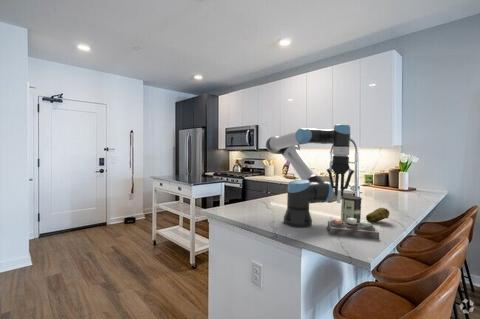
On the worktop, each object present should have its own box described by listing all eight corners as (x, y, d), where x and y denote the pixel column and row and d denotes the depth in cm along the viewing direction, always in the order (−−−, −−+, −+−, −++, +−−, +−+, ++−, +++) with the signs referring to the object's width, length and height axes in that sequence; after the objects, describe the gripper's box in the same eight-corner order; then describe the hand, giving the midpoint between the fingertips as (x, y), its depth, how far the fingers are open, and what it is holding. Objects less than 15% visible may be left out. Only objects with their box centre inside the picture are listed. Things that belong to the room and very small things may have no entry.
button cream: (348, 223, 116) (348, 219, 116) (346, 221, 120) (346, 217, 120) (357, 224, 115) (357, 220, 115) (355, 222, 119) (355, 218, 119)
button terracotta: (333, 225, 118) (333, 221, 118) (332, 222, 122) (332, 218, 122) (342, 226, 117) (343, 222, 116) (341, 223, 121) (341, 219, 121)
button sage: (362, 227, 114) (362, 223, 114) (360, 225, 118) (360, 221, 118) (372, 228, 113) (372, 224, 113) (369, 226, 117) (370, 222, 117)
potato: (362, 218, 141) (363, 205, 141) (385, 220, 139) (386, 206, 139) (367, 223, 133) (368, 208, 133) (392, 224, 131) (393, 210, 131)
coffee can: (357, 219, 139) (358, 195, 139) (362, 225, 129) (364, 199, 129) (338, 218, 141) (339, 194, 141) (342, 223, 131) (343, 198, 131)
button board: (330, 234, 114) (330, 225, 114) (327, 226, 126) (327, 218, 126) (378, 239, 109) (379, 230, 109) (371, 230, 121) (371, 222, 121)
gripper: (327, 155, 117) (325, 202, 119) (356, 156, 114) (353, 205, 115) (326, 155, 125) (324, 199, 126) (353, 155, 121) (351, 201, 122)
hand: (338, 202), depth 120 cm, fingers closed
